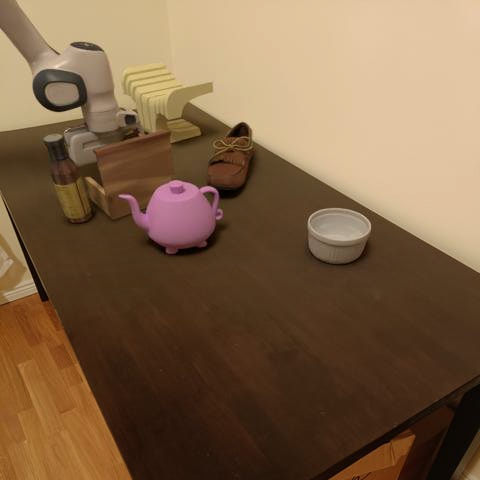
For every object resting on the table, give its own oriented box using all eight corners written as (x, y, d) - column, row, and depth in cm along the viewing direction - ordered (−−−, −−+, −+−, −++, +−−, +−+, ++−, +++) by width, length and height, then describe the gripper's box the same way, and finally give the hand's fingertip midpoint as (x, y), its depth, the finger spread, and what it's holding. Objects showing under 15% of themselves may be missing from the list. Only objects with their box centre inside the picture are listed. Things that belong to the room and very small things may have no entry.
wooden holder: (90, 199, 112) (71, 133, 100) (153, 179, 120) (143, 115, 108) (112, 220, 104) (96, 151, 93) (178, 197, 113) (170, 131, 101)
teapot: (137, 270, 90) (125, 211, 80) (123, 232, 100) (111, 177, 91) (235, 247, 96) (234, 190, 86) (212, 214, 106) (209, 160, 97)
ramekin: (294, 240, 97) (297, 213, 93) (345, 229, 101) (350, 202, 96) (322, 274, 89) (327, 246, 84) (377, 260, 92) (384, 232, 87)
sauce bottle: (82, 209, 108) (59, 128, 95) (98, 217, 106) (76, 135, 92) (60, 219, 105) (32, 137, 91) (75, 228, 102) (49, 144, 88)
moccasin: (231, 204, 110) (230, 158, 101) (188, 196, 113) (183, 150, 104) (270, 157, 130) (272, 115, 122) (233, 151, 134) (232, 110, 125)
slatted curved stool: (129, 126, 150) (119, 69, 137) (169, 116, 156) (162, 61, 144) (172, 154, 132) (165, 92, 120) (215, 142, 139) (212, 81, 126)
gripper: (66, 132, 100) (82, 188, 109) (144, 113, 109) (152, 166, 118) (56, 124, 103) (72, 179, 113) (133, 107, 112) (141, 159, 122)
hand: (114, 172), depth 116 cm, fingers closed
